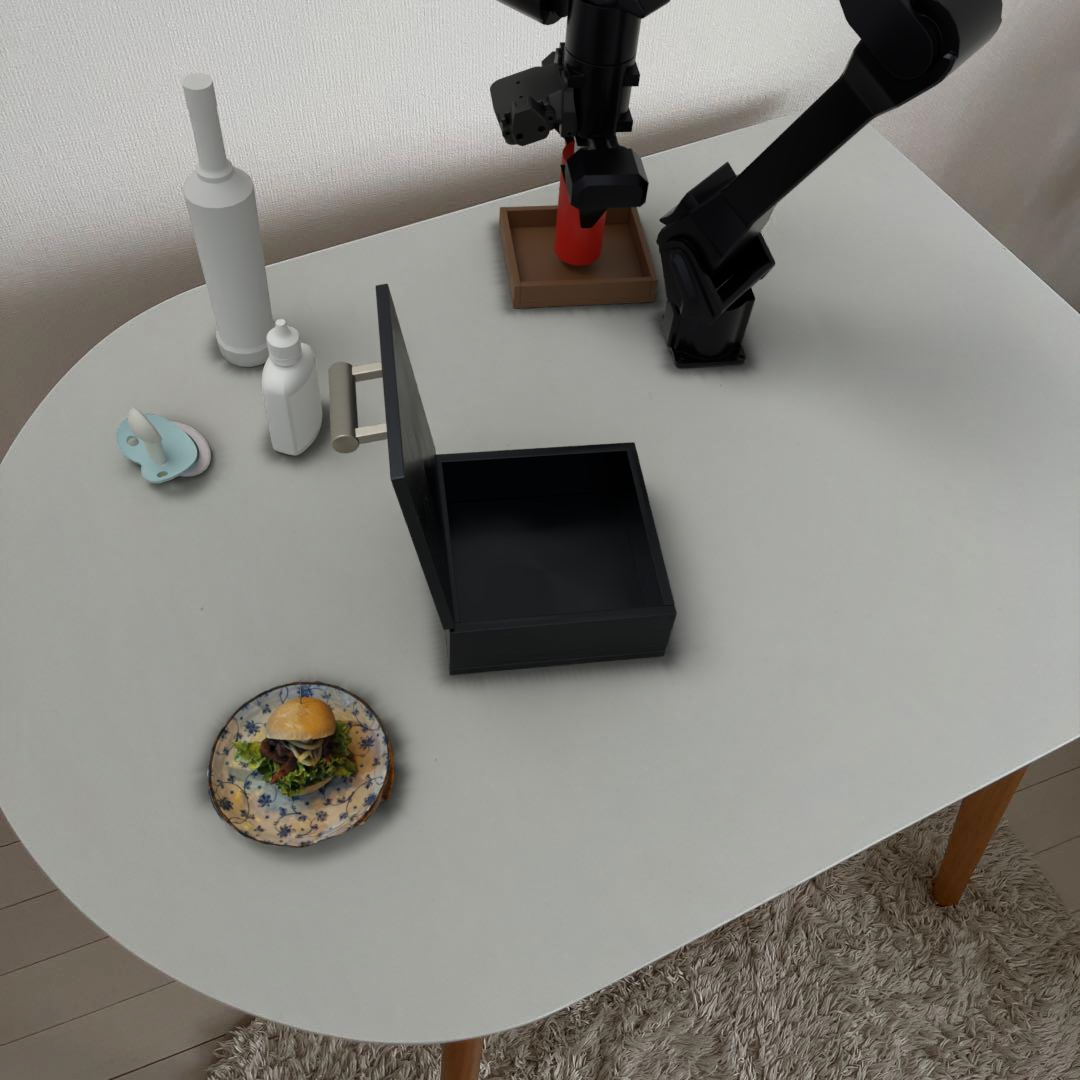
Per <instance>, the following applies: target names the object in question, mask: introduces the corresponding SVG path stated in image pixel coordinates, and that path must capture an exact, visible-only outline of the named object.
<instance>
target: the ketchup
mask: <svg viewBox="0 0 1080 1080" xmlns="http://www.w3.org/2000/svg"><path fill="white" fill-rule="evenodd" d="M577 150H578V149H577V147H576V144H575V141H572V142H570V143H568V144H567V145H566V146H565V145H564V147H563V149H562V154H561V162H560V163H561V164H560V165H565V164H566V160H567V159H568V158H569V157H570V156H571V155H573V154H574V153H575V152H576V151H577ZM588 150H590V148H589V149H588ZM557 200H558V201H557V205H558V210H557V222H556V234H555V245H554V251H555V253H556V255H557V257H558V258H559V259H561V260H562V261H564V262H566V263H568V264H571V265H578V266H582V265H588V264H591V263H593V262H595V261H596V260H597V259H598V258H599V257H600V255H601V249H602V241H603V234H604V226H605V218H606V211H605V213H604V214H603V215H602V216H601V218H600V219H599V220H598V221H597V223H596V224H595V225H594V226H593V227H592V228H581V227H580V220H579V211H578V209H577V208H575V207H573V206H571V205H570V201H569V197H568V193H567V189H566V184H565V182H564V179H563V174H562V170H561V169H560V175H559V187H558V199H557Z"/></svg>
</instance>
